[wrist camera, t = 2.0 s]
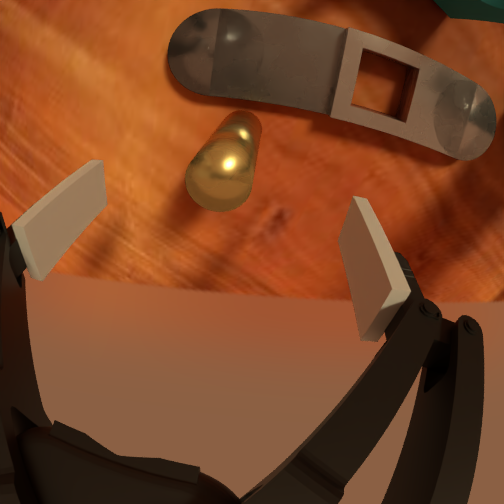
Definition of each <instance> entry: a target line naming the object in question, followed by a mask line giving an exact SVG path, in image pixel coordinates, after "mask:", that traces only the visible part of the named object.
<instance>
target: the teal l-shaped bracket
mask: <svg viewBox="0 0 504 504" xmlns="http://www.w3.org/2000/svg"><path fill="white" fill-rule="evenodd" d="M433 1H434V2H435V3H436V4H437V5H438V6H439V7H440V8H441V9H442V10H443V11H444V12H445V13H446V14H447V15H448V16H449V17H450V18H456V19H471V20H481V21H490V22H497V23H504V0H433Z"/></svg>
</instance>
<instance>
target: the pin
mask: <svg viewBox="0 0 504 504" xmlns="http://www.w3.org/2000/svg"><path fill="white" fill-rule="evenodd" d="M261 133H262V126H261V123H260V121H259V119H258V118H257V117H256V116H255V115H254V114H253V113H251V112H248V111H244V110H239V111H234V112H232V113H230V114H229V115H228V116H227V117H226V118H225V119H224V120H223V121H222V123H221V124H220V125H219V126H218V128H217V129H216V130H215V131H214V133H213V134H212V135H211V136H210V138H209V139H208V140H207V142H206V143H205V144H204V145H203V147H202V148H201V149H200V151H199V152H198V153H197V155H196V156H195V157H194V159H193V160H192V161H191V163H190V164H189V166H188V168H187V170H186V174H185V184H186V188H187V191H188V193H189V195H190V196H191V198H192V199H193V200H194V201H195V202H196V203H197V204H199V205H200V206H202V207H203V208H205V209H208V210H211V211H216V212H225V211H230V210H233V209H236V208H237V207H239V206H241V205H242V204H243V203H244V202H245V201H246V200H247V198H248V197H249V195H250V192H251V189H252V183H253V178H254V172H255V166H256V161H257V155H258V149H259V144H260V138H261Z"/></svg>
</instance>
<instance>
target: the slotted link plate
mask: <svg viewBox="0 0 504 504" xmlns="http://www.w3.org/2000/svg"><path fill="white" fill-rule="evenodd" d="M362 51H365V52H368V53H371V54H374V55H377V56H380V57H383V58H386V59H389V60H391V61H394V62H397V63H399V64H402V65H404V66H407V67H408V71H407V75H406V79H405V84H404V88H403V92H402V96H401V100H400V104H399V107H398V111H397V115H396V117H394V116H391V115H388V114H385V113H382V112H379V111H375V110H372V109H369V108H366V107H362V106H359V105H355V104H352V103H351V100H352V96H353V92H354V87H355V83H356V78H357V74H358V69H359V64H360V60H361V55H362ZM168 62H169V66H170V69H171V71H172V73H173V75H174V77H175V78H176V79H177V80H178V81H179V82H180V83H181V84H182V85H183V86H184V87H186V88H187V89H189V90H191V91H193V92H195V93H198V94H202V95H207V96H218V97H228V98H236V99H245V100H252V101H259V102H266V103H272V104H278V105H284V106H289V107H295V108H300V109H305V110H310V111H314V112H319V113H323V114H327V115H329V117H331V118H335V119H339V120H343V121H347V122H351V123H355V124H358V125H362V126H366V127H369V128H372V129H376V130H379V131H382V132H386V133H389V134H392V135H395V136H398V137H401V138H404V139H407V140H409V141H412V142H415V143H418V144H421V145H423V146H426V147H429V148H431V149H434V150H436V151H439V152H441V153H444V154H446V155H449V156H451V157H453V158H456V159H459V160H472V159H475V158H477V157H479V156H481V155H482V154H483V153H484V152H485V151H486V150H487V149H488V147H489V146H490V144H491V142H492V140H493V138H494V135H495V130H496V113H495V108H494V105H493V102H492V100H491V98H490V97H489V95H488V93H487V92H486V91H485V90H484V89H483V88H482V87H481V86H480V85H478V84H477V83H475V82H473V81H472V80H470V79H468V78H467V77H465V76H463V75H461V74H460V73H458V72H456V71H454V70H452V69H450V68H449V67H447V66H445V65H443V64H441V63H439V62H437V61H435V60H433V59H431V58H429V57H426V56H424V55H422V54H420V53H418V52H415V51H413V50H411V49H409V48H406V47H404V46H401V45H399V44H396V43H394V42H391V41H389V40H386V39H383V38H380V37H378V36H375V35H372V34H369V33H366V32H363V31H359V30H356V29H353V28H350V27H348V28H346V29H345V28H341V27H337V26H334V25H330V24H326V23H321V22H317V21H313V20H308V19H303V18H298V17H292V16H287V15H280V14H274V13H266V12H258V11H248V10H237V9H208V10H204V11H201V12H198V13H196V14H194V15H192V16H190V17H189V18H187V19H186V20H184V21H183V22H182V23H181V24H180V25H179V26H178V28H177V29H176V30H175V32H174V33H173V35H172V37H171V39H170V43H169V46H168Z"/></svg>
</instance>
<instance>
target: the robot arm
mask: <svg viewBox="0 0 504 504" xmlns="http://www.w3.org/2000/svg"><path fill="white" fill-rule="evenodd" d="M106 206H107V197H106V188H105V178H104V166H103V160H90V161H89V162H88V163H86V164H85V165H83V166H82V167H81V168H79V169H78V170H77V171H75V172H74V173H73V174H71V175H70V176H69V177H67V178H66V179H65V180H63V181H62V182H61V183H60V184H58V185H57V186H56V187H55V188H53V189H52V190H51V191H50V192H48V193H47V194H46V195H45V196H44V197H42V198H41V199H40V200H39V201H38V202H36V203H35V204H34V205H32V206H31V207H30V208H29V209H28V210H27V211H26V212H25V213H23V215H21V216H20V217H19V218H18V219H17V220H16V221H15V222H14V223H13V224H12V225H11V226H9V227H8V228H7V229H6V226H5V222H4V219H3V216H2V213H1V212H0V504H338V503H339V501H340V500H341V499H342V497H343V495H344V487H345V485H346V484H347V483H348V481H349V480H350V479H351V478H352V476H353V475H354V474H355V473H356V471H357V470H358V468H359V467H360V466H361V465H362V463H363V462H364V461H365V459H366V458H367V457H368V455H369V454H370V453H371V451H372V450H373V448H374V447H375V445H376V444H377V442H378V441H379V440H380V438H381V437H382V435H383V434H384V432H385V430H386V429H387V427H388V426H389V424H390V422H391V421H392V419H393V418H394V416H395V415H396V413H397V411H398V409H399V408H400V406H401V404H402V403H403V401H404V399H405V397H406V396H407V394H408V392H409V390H410V388H411V386H412V385H413V383H414V381H415V379H416V377H417V375H418V373H419V371H420V369H421V367H422V372H421V377H420V382H419V387H418V392H417V396H416V400H415V405H414V409H413V413H412V417H411V420H410V425H409V428H408V431H407V435H406V438H405V441H404V445H403V448H402V451H401V454H400V457H399V460H398V463H397V466H396V468H395V471H394V474H393V477H392V479H391V482H390V484H389V487H388V489H387V492H386V494H385V497H384V499H383V501H382V503H381V504H467V502H468V498H469V495H470V491H471V486H472V482H473V478H474V473H475V468H476V462H477V457H478V451H479V444H480V436H481V427H482V417H483V402H484V346H483V334H482V330H481V327H480V326H479V324H478V323H477V322H476V320H475V319H473V318H471V317H470V316H467V315H462V316H461V317H459V319H458V320H457V321H456V322H455V323H454V322H452V321H449V320H447V319H444V318H442V314H441V311H440V310H439V308H438V307H437V306H436V305H435V304H434V303H433V302H432V301H430V300H428V299H425V298H424V296H423V294H422V292H421V290H420V287H419V285H418V283H417V281H416V278H414V274H413V272H412V271H411V268H410V266H409V264H408V261H407V260H406V259H405V258H404V257H403V256H402V255H401V254H400V253H397V252H394V251H393V249H392V247H391V245H390V243H389V241H388V239H387V237H386V235H385V233H384V231H383V229H382V227H381V225H380V223H379V221H378V219H377V217H376V215H375V213H374V211H373V209H372V207H371V206H370V204H369V202H368V200H367V199H365V198H361V197H357V196H353V198H352V201H351V204H350V207H349V210H348V213H347V216H346V219H345V222H344V224H343V227H342V230H341V233H340V236H339V239H338V243H339V247H340V251H341V254H342V258H343V262H344V267H345V271H346V275H347V279H348V283H349V288H350V292H351V297H352V301H353V306H354V310H355V315H356V320H357V325H358V330H359V335H360V340H361V341H375V342H378V340H379V339H380V337H381V336H382V335H383V333H384V332H385V336H386V340H387V341H386V342H385V343H384V345H383V346H382V347H381V349H380V350H379V351H378V352H377V354H376V355H375V357H374V359H373V360H372V362H371V363H370V364H369V366H368V367H367V368H366V370H365V371H364V372H363V374H362V375H361V376H360V377H359V379H358V380H357V381H356V383H355V384H354V385H353V386H352V388H351V389H350V390H349V391H348V393H347V394H346V395H345V396H344V397H343V399H342V400H341V401H340V402H339V403H338V405H337V406H336V407H335V408H334V409H333V410H332V412H331V413H330V414H329V415H328V416H327V417H326V418H325V419H324V421H323V422H322V423H321V424H320V425H319V426H318V427H317V428H316V429H315V430H314V431H313V433H312V434H311V435H310V436H309V437H308V438H307V439H306V440H305V441H304V442H303V443H302V444H301V445H300V446H299V447H298V448H297V449H296V450H295V451H294V452H293V453H292V454H291V455H290V456H289V457H288V458H287V459H286V460H285V461H284V462H283V463H282V464H280V465H279V466H278V467H277V468H276V469H275V470H274V471H273V472H272V473H270V474H269V475H268V476H267V477H266V478H264V479H263V480H262V481H261V482H260V483H258V484H257V485H256V486H255V487H254V488H253V489H251V490H250V491H249V492H248V493H246V494H245V495H244V496H243V497H241V498H240V499H239V498H238V497H237V496H236V495H235V494H234V493H233V492H232V491H231V490H230V489H229V488H228V487H226V486H225V485H224V484H222V483H221V482H219V481H217V480H216V479H214V478H212V477H210V476H208V475H206V474H204V473H201V472H200V467H197V466H192V465H187V464H183V463H178V462H174V461H169V460H165V459H161V458H143V457H126V456H119V455H116V454H114V453H113V452H111V451H110V450H108V449H107V448H105V447H103V446H102V445H100V444H99V443H98V442H96V441H95V440H93V439H92V438H90V437H89V436H88V435H86V434H85V433H83V432H80V431H78V430H76V429H73V428H71V427H69V426H66V425H65V424H62V423H60V422H58V421H56V420H55V421H54V424H53V425H52V423H51V421H50V420H49V419H48V417H47V415H46V413H45V411H44V409H43V406H42V402H41V398H40V393H39V389H38V385H37V380H36V375H35V370H34V365H33V359H32V352H31V345H30V338H29V330H28V320H27V309H26V291H25V277H24V274H23V271H24V270H25V269H26V267H27V269H28V272H29V274H30V276H31V278H34V279H37V280H40V281H43V280H44V279H45V277H46V276H47V275H48V274H49V272H50V271H51V270H52V268H53V267H54V266H55V264H56V263H57V262H58V261H59V259H60V258H61V257H62V256H63V254H64V253H65V252H66V251H67V250H68V248H69V247H70V246H71V245H72V244H73V242H74V241H75V240H76V239H77V238H78V237H79V235H80V234H81V233H82V232H83V231H84V230H85V228H86V227H87V226H88V225H89V224H90V223H91V222H92V221H93V220H94V218H95V217H96V216H97V215H98V214H99V213H100V212H101V211H102V210H103V209H104V208H105V207H106Z"/></svg>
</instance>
